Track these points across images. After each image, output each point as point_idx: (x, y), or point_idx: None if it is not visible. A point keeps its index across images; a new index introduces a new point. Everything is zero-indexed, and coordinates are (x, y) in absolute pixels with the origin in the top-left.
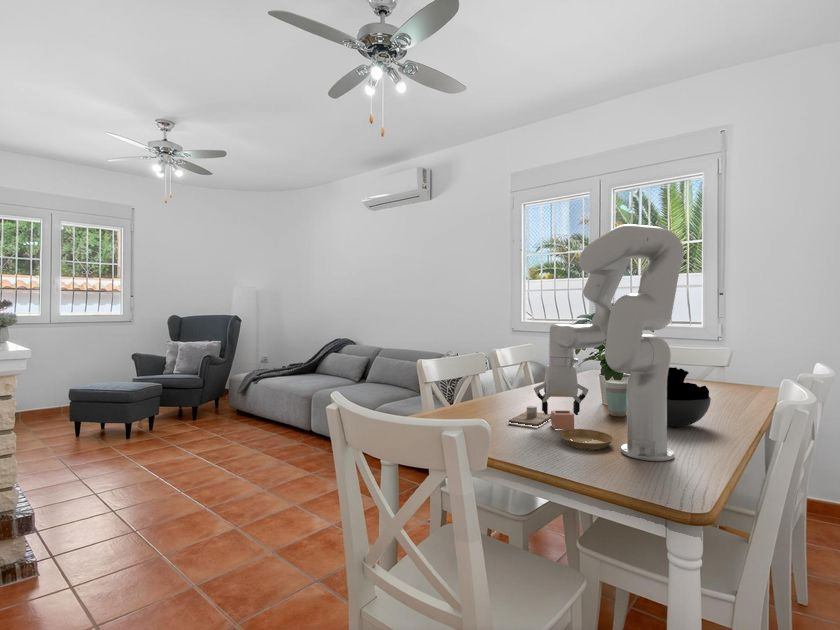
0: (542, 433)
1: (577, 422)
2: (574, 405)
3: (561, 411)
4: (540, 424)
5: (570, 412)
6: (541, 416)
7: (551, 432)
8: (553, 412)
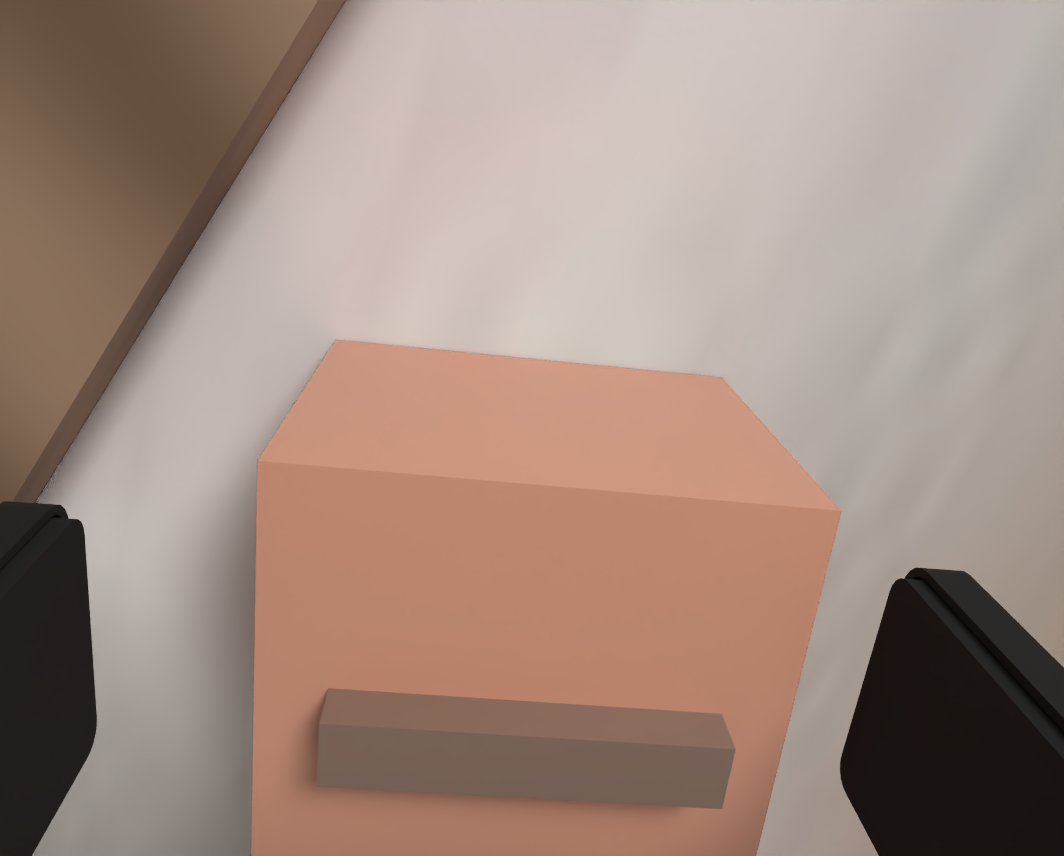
0: (56, 834)
1: (1030, 97)
2: (992, 843)
3: (491, 786)
4: (59, 443)
5: (758, 727)
6: None
7: (224, 788)
8: (272, 708)
